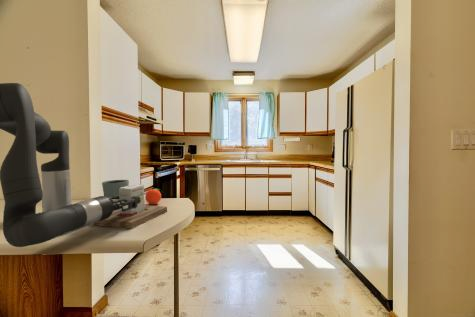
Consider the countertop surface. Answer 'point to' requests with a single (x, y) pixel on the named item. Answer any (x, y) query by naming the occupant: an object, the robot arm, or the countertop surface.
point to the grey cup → (113, 187)
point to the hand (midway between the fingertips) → (129, 199)
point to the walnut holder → (133, 217)
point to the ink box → (131, 193)
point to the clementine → (153, 196)
